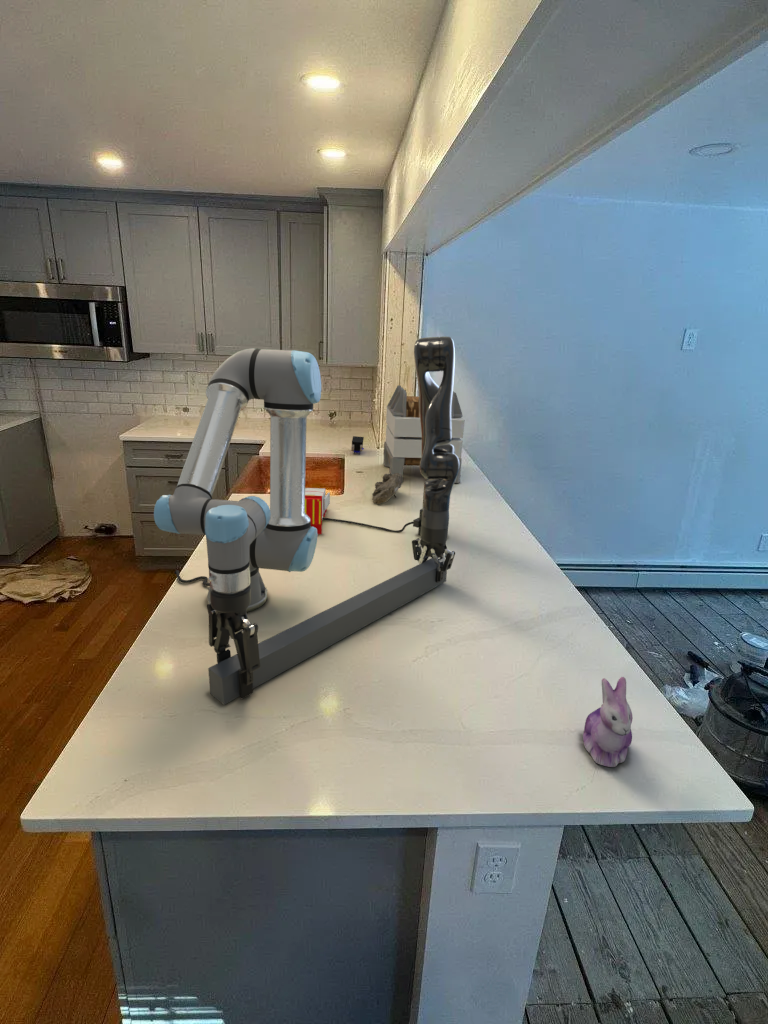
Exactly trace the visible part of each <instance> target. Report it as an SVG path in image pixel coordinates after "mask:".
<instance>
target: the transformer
mask: <svg viewBox="0 0 768 1024" xmlns="http://www.w3.org/2000/svg"><path fill="white" fill-rule="evenodd" d="M407 394H408V393H407V390H406V389H404V388H403V387H402V385H399V384H398V385H397V386H396V388H395V390H394V392H393V394H392V395H391V398H390V400H389V402H388V404H387V405H386V413H385V414H386V415H385V423H386V428H385V438H384V442H383V466H384V467H388V468H389V474H390V473H391V474H392V475H393V474H394V473H399V474H401V475H402V476H403V475H404V469H405V466H406V467H407V466H411V467H412V466H413V467H415V466H416V467H417V466H418V467H420V461H421V444H422V435H421V423H420V415H419V395H418V396H415V395H414V396H413V395H412V396H411V395H407ZM451 427H452V439H451V442H450V443H449V444H452V445H453V446H454V449H455V454H456V455H457V457H458V459H459V462H460V468H459V472H458V474H457V477H456V479H455V482H454V484H455V483H456V484H459V483H461V472H462V461H463V460H462V453H463V442H464V441H463V440H462V439H463V438H464V431H465V430H464V429H465V419H464V418H463V411H462V408H461V405H460V402H459V398H458V395H457V392H455V391H454V390H453V394H452V405H451Z"/></svg>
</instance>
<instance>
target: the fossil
mask: <svg viewBox="0 0 768 1024" xmlns="http://www.w3.org/2000/svg"><path fill="white" fill-rule="evenodd" d="M403 482H404V476H403V475H401V474H399V473H394V474H393V475H392V474H391V473H390V472H389V473H384V474H383V476H382V481H376V482H375V483H374V488H375V489H374V490H373V493H372V494H371V495H372V496H371V497H372V502H373V503H374V504H376V505H380V504H381V505H382V504H384V503H387V502H388V501H389V500H390V499H391V498H393V497H394V498H395V499H396V498H397V496H396V493H397V492H398V490H399V489H401V487H402V485H403Z"/></svg>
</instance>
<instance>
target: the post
mask: <svg viewBox="0 0 768 1024" xmlns="http://www.w3.org/2000/svg"><path fill="white" fill-rule="evenodd" d="M436 571H437V568H436V564H435V563H434V560H433V558H431V557H430V558H428V560H427V561H425V562H423V563H421V564H419V563H418V564H417V565H414V566H413V567H411V568H408V569H407V570H404V571H403V572H400V573H399V574H397V575H395V576H392V577H390V578H388V579H386V580H384V581H382V582H380V583H378V584H376V585H374V586H372V587H370V588H368V589H365V590H363V591H362V592H360V593H358V594H355V595H354V596H352V597H349V598H348V599H345V600H343V601H342V602H339V603H337V604H335V605H333V606H331V607H329V608H326V609H325V610H323V611H321V612H319V613H317V614H315V615H313V616H311V617H309V618H307V619H305V620H303V621H301V622H299V623H297V624H295V625H293V626H291V627H289V628H287V629H285V630H282V631H281V632H279V633H277V634H275V635H272V636H270V637H268V638H267V639H264V640H262V641H261V642H258V648H259V658H260V668H259V669H257V670H255V671H253V690H254V689H255V688H257V687H259V686H261V685H263V684H265V683H266V682H268V681H269V680H272V679H274V678H275V677H277V676H279V675H280V674H283V673H285V672H286V671H288V670H289V669H292V668H293V667H296V666H297V665H298V664H300V663H302V662H304V661H305V660H307V659H310V658H311V657H313V656H315V655H317V654H318V653H320V652H323V650H326V649H327V648H329V647H331V646H333V645H335V644H337V643H338V642H340V641H341V640H343V639H345V638H347V637H348V636H351V635H353V634H354V633H356V632H358V631H359V630H361V629H363V628H365V627H366V626H368V625H370V624H372V623H374V622H376V621H377V620H379V619H381V618H383V617H385V616H386V615H388V614H390V613H392V612H393V611H395V610H397V609H399V608H402V607H403V606H404V605H406V604H408V603H409V602H412V601H413V600H415V599H417V598H419V597H421V596H423V595H425V594H426V593H428V592H429V591H431V590H433V589H435V588H437V587H439V586H440V585H443V584H444V583H446V582H447V576H448V575H447V573H448V570H446V571H445V572H444V574H443V580H442V581H441V582H439V583H437V582H435V578H436ZM207 669H208V671H207V672H208V681H209V694H210V695H211V696H213V697H214V698H215V699H216V700H217V701H218V702H220V703H221V704H223V705H226V704H228V703H231V702H232V701H234V700H235V699H237V698H240V695H239V676H238V670H239V669H241V667H240V663H239V659H238V655H237V653H236V654H233V655H231V657H230V658H228V659H226V660H224V661H222V662H220V663H215V664H214V665H211V666H209V667H208V668H207Z"/></svg>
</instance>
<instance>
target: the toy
mask: <svg viewBox="0 0 768 1024" xmlns="http://www.w3.org/2000/svg"><path fill="white" fill-rule="evenodd" d="M326 492H327V491H326V488H324V487H323V488H321V487H319V488H318V487H305V513H306V514H307V515H308V516H309V517H310V519H311V527H312V526H313V527H315V528H317V533H318V535H322V534H323V520H322V519H323V518H326V514H327V512H328V507H329V506H330V504H331V493H330V492H331V491H330V492H327V493H326Z"/></svg>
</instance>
